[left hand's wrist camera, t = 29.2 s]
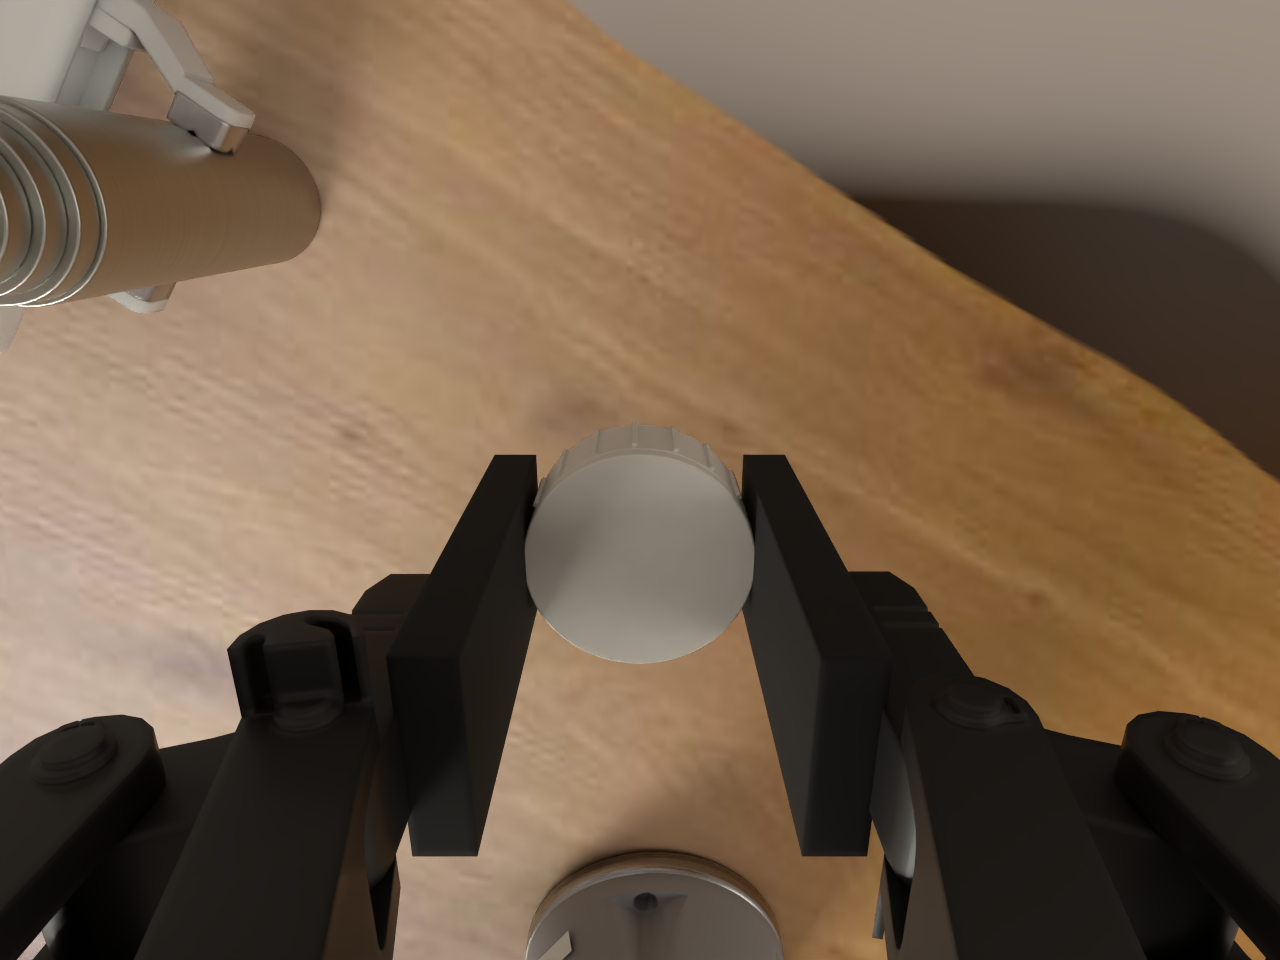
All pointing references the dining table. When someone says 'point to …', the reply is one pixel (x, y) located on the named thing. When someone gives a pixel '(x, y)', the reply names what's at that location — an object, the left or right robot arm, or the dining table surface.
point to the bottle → (137, 204)
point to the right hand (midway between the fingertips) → (200, 216)
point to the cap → (639, 545)
